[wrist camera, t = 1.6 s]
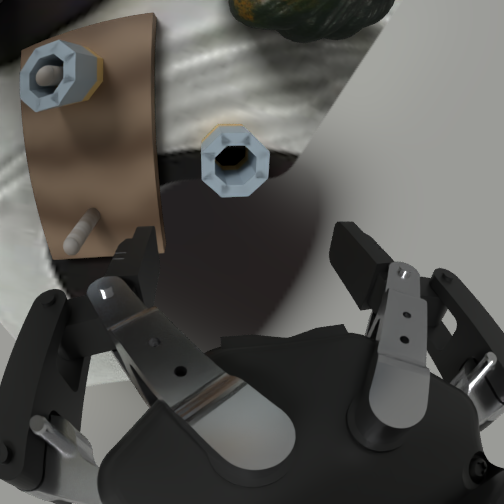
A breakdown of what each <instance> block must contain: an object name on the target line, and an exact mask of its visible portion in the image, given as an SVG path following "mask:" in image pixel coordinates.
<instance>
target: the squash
mask: <svg viewBox="0 0 504 504" xmlns="http://www.w3.org/2000/svg"><path fill="white" fill-rule="evenodd" d="M394 1H395V0H229V6H230V10H231V13H232V15H233V16H234V17H235V19H236V20H238V21H240V22H242V23H244V24H245V25H247V26H250V27H254V28H260V29H269V30H277V31H278V32H279V33H280V34H281V35H282V36H283V37H285V38H286V39H288V40H291V41H294V42H299V43H306V42H312V41H317V40H319V39H322V38H325V39H332V40H339V39H345V38H348V37H351V36H353V35H354V34H355V33H357V32H358V31H359V30H361V29H362V28H364V27H367V26H369V25H372V24H375V23H377V22H378V21H380V20H381V19H382V18H383V17H384V16H385V15H386V14H387V13H388V12H389V10H390V8H391V7H392V6H393V4H394Z"/></svg>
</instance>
